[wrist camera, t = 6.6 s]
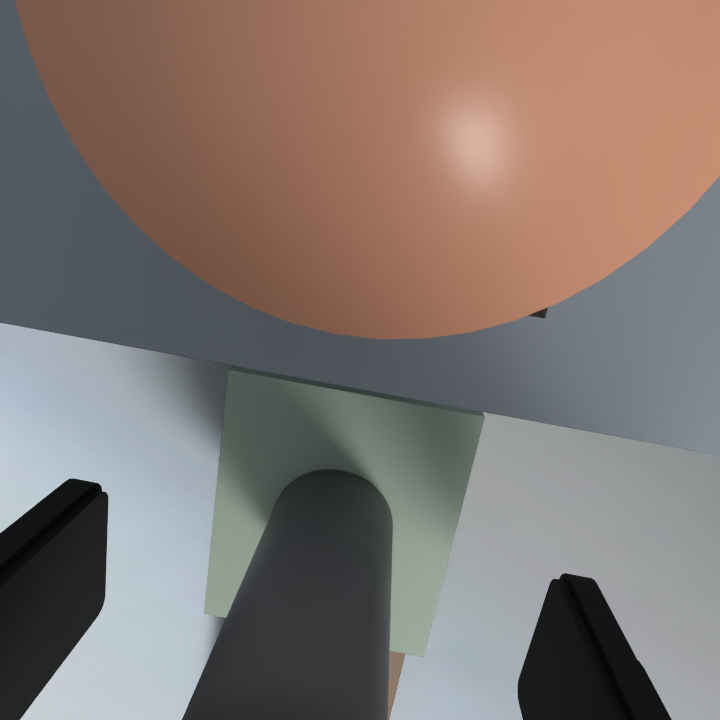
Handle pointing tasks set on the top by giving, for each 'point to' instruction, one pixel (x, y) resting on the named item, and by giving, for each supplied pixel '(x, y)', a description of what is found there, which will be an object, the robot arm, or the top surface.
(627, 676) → the robot arm
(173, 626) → the top surface
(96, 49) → the button
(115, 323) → the cabinet
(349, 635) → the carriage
